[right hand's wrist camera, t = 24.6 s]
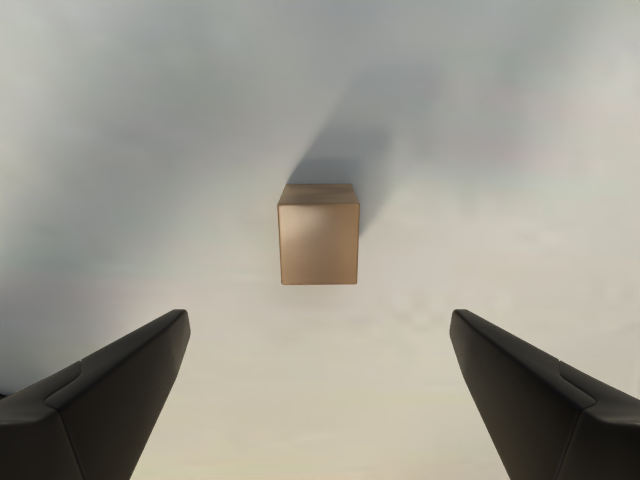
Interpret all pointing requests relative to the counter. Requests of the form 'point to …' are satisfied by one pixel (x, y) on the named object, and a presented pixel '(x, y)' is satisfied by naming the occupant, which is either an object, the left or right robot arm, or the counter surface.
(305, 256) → the brown wooden cube
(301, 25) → the counter surface
